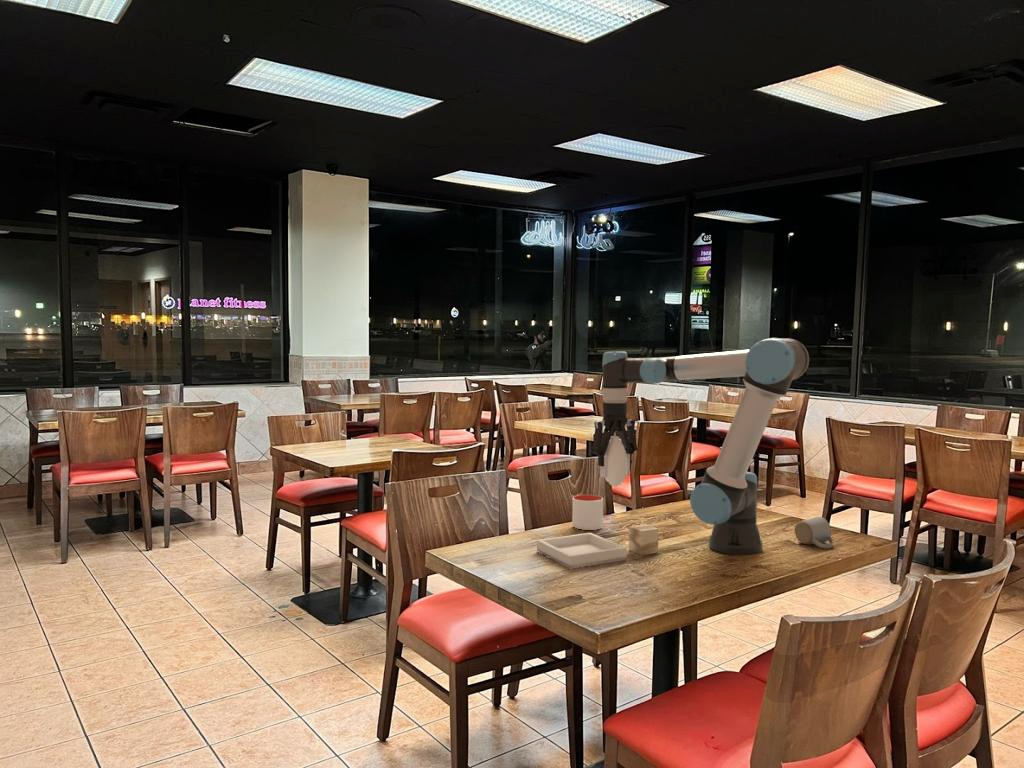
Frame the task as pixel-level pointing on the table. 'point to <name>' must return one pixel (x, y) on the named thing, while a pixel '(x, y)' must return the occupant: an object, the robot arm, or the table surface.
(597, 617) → the table surface
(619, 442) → the sauce bottle
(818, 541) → the ceramic mug
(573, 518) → the cup
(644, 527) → the birch block
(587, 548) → the tray
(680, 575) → the table surface
